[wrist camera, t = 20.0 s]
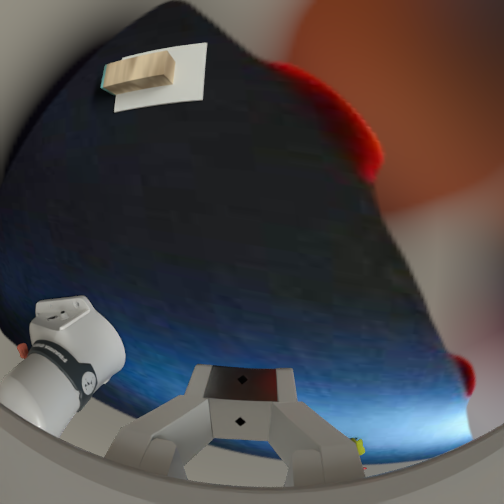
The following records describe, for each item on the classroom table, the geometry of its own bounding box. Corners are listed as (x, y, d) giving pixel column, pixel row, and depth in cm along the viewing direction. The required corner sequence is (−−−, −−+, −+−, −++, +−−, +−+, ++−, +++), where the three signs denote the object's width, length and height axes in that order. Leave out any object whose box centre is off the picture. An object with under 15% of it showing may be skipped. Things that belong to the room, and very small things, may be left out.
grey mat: (115, 112, 33) (114, 112, 33) (123, 58, 31) (122, 57, 30) (202, 100, 33) (202, 99, 32) (207, 44, 30) (206, 42, 30)
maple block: (173, 84, 32) (113, 95, 32) (175, 61, 31) (117, 73, 31) (163, 74, 28) (100, 88, 28) (167, 50, 27) (104, 65, 27)
